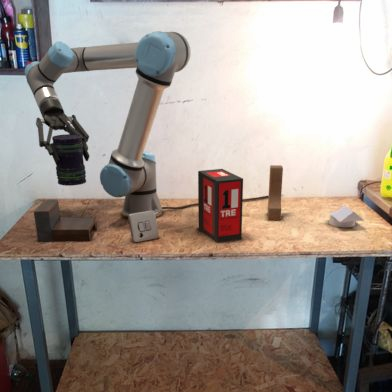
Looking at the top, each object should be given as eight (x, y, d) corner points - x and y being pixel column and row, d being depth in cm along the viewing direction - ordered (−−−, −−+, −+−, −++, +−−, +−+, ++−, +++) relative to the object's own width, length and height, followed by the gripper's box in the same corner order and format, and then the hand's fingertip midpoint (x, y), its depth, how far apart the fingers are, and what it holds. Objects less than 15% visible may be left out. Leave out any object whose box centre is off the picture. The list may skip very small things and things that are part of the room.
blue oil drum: (71, 177, 203) (66, 133, 196) (92, 180, 199) (88, 135, 191) (51, 183, 196) (45, 137, 188) (72, 187, 191) (67, 140, 184)
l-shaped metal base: (96, 228, 205) (93, 199, 200) (89, 241, 192) (86, 211, 187) (47, 228, 205) (43, 200, 200) (37, 241, 193) (33, 211, 188)
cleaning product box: (241, 239, 192) (243, 178, 183) (217, 242, 190) (217, 181, 180) (221, 225, 206) (222, 168, 196) (198, 228, 203) (198, 170, 193)
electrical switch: (134, 243, 190) (131, 215, 186) (128, 240, 194) (125, 213, 190) (159, 238, 194) (157, 211, 190) (152, 236, 198) (150, 209, 194)
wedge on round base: (363, 229, 200) (349, 219, 211) (366, 210, 197) (351, 201, 208) (338, 231, 199) (325, 220, 210) (341, 212, 196) (327, 202, 207)
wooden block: (280, 220, 211) (283, 170, 202) (268, 220, 211) (271, 170, 202) (279, 213, 219) (282, 165, 210) (267, 213, 219) (270, 165, 210)
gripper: (78, 110, 204) (101, 163, 200) (15, 115, 193) (38, 171, 189) (82, 95, 197) (106, 149, 193) (18, 99, 186) (42, 157, 183)
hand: (73, 160), depth 191 cm, fingers closed on blue oil drum, 10 cm apart
